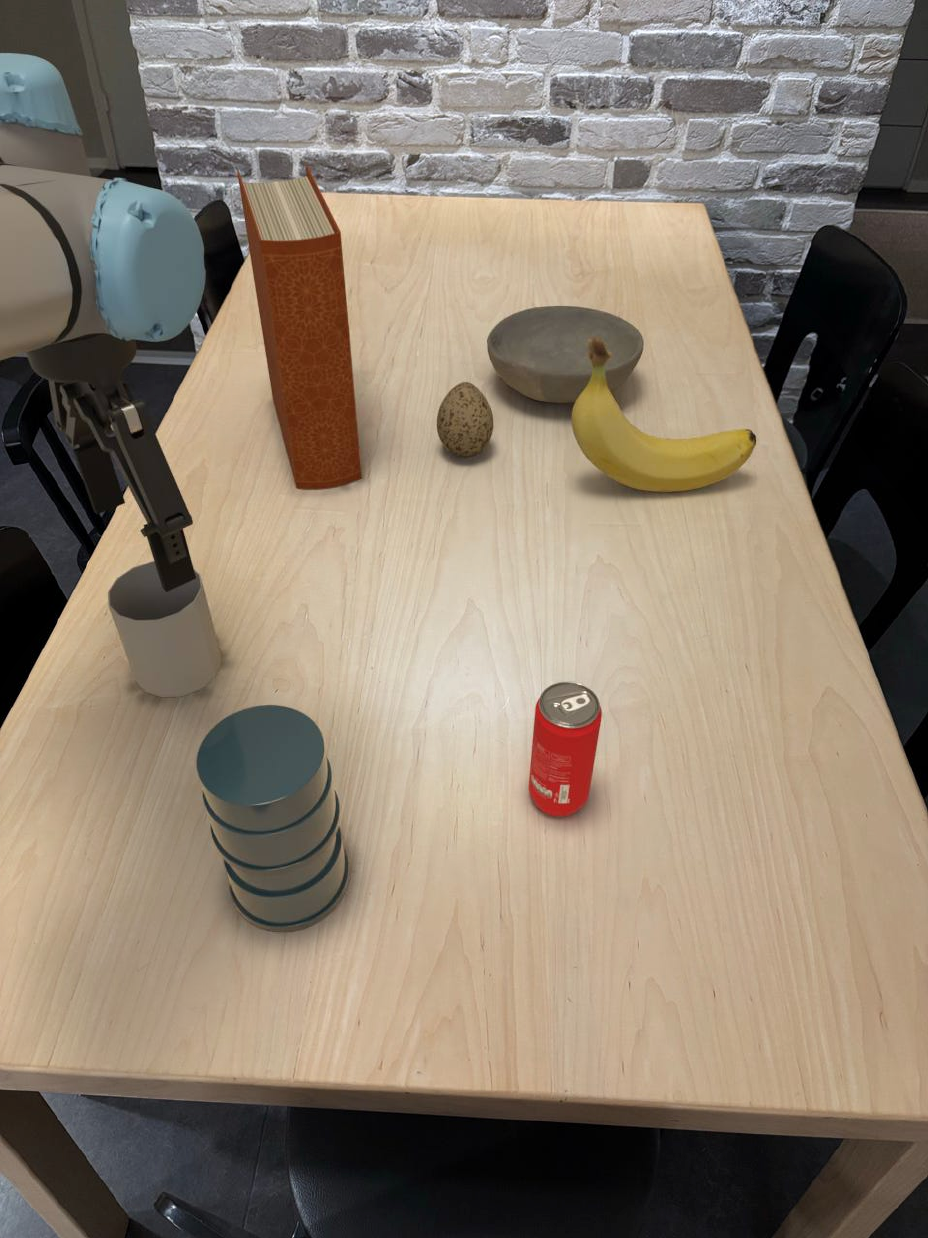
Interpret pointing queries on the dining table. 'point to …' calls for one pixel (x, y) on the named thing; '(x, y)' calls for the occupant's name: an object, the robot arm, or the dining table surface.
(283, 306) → the book
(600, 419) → the banana
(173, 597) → the cup
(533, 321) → the bowl
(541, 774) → the beverage can
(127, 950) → the dining table surface
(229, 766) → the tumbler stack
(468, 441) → the decorative egg
